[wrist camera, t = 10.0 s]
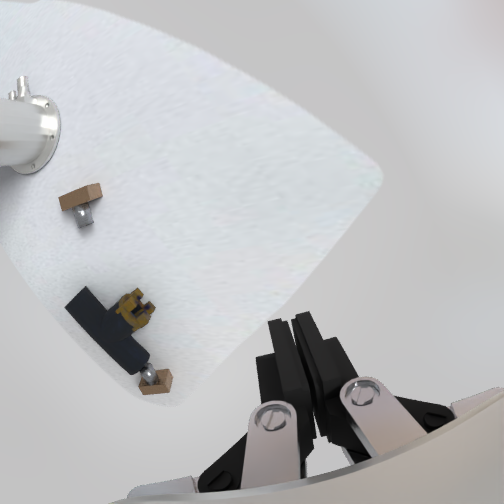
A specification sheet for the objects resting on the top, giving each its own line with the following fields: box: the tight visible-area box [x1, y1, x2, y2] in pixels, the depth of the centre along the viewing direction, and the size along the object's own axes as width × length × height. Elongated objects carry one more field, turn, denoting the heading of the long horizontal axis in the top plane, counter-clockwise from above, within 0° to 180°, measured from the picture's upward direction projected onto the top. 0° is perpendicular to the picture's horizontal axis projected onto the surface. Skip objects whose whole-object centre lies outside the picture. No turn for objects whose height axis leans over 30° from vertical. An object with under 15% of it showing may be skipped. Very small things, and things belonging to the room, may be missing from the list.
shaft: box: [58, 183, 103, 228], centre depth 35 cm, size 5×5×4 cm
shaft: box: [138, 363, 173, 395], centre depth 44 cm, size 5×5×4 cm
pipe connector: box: [65, 286, 156, 375], centre depth 40 cm, size 12×5×15 cm
